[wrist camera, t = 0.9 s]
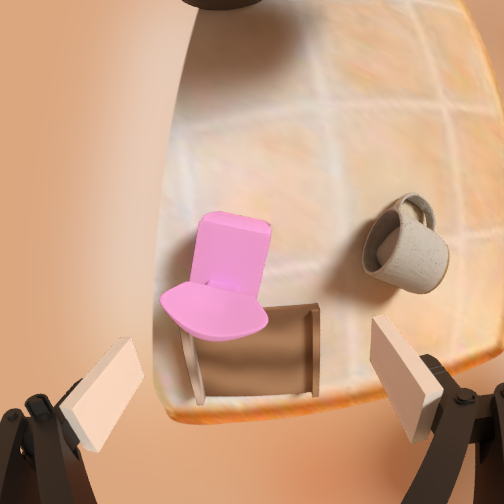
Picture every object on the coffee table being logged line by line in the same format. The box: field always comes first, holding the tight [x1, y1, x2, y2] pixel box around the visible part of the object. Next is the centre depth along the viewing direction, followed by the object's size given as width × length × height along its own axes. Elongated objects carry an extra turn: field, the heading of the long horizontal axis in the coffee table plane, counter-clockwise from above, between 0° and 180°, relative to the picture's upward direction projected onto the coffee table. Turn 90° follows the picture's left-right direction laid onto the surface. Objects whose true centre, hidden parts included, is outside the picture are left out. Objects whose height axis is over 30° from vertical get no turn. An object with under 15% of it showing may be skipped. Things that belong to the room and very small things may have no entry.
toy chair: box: [160, 211, 271, 342], centre depth 26 cm, size 8×9×15 cm
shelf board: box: [179, 303, 320, 406], centre depth 34 cm, size 12×16×4 cm
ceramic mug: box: [362, 193, 449, 294], centre depth 29 cm, size 11×8×8 cm
